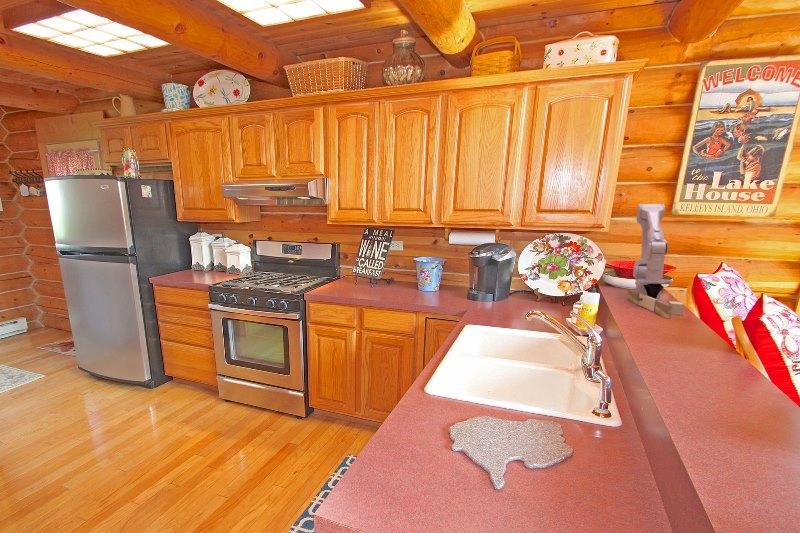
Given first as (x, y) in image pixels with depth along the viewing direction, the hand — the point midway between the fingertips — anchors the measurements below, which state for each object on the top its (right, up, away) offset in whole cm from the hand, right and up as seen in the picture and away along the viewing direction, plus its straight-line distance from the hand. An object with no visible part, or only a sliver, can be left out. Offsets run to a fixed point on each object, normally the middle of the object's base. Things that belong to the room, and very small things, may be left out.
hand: (651, 301), depth 150 cm
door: (-4, -3, -2) cm, 5 cm away
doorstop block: (+2, -4, -10) cm, 11 cm away
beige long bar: (-3, -3, -2) cm, 5 cm away
